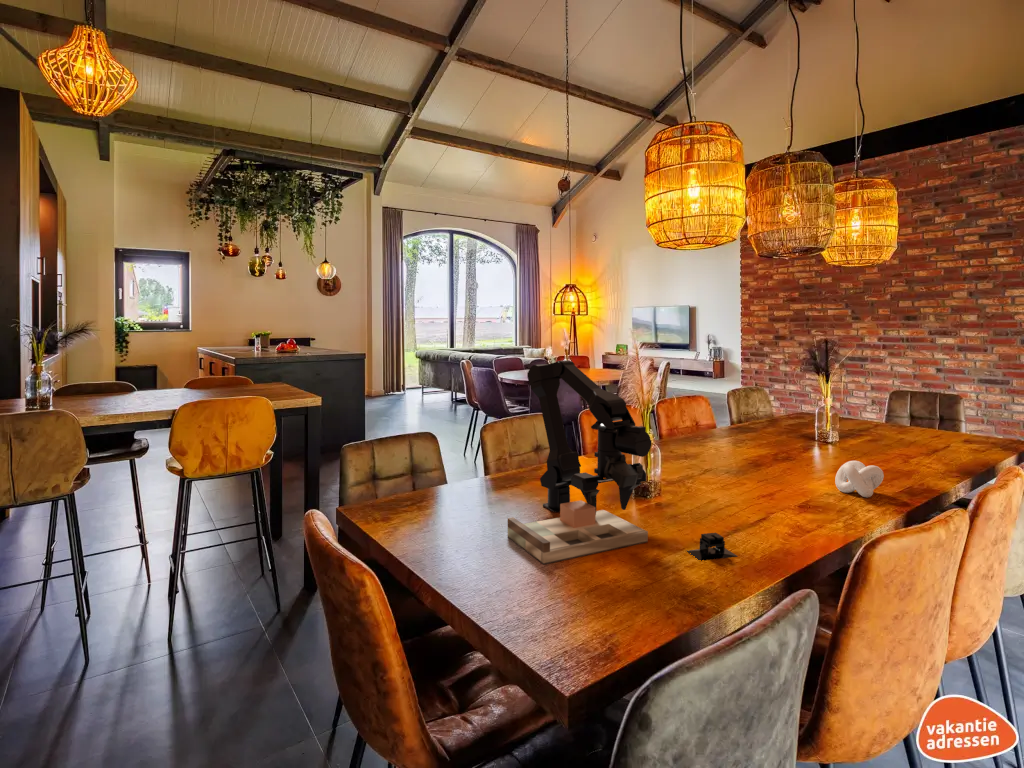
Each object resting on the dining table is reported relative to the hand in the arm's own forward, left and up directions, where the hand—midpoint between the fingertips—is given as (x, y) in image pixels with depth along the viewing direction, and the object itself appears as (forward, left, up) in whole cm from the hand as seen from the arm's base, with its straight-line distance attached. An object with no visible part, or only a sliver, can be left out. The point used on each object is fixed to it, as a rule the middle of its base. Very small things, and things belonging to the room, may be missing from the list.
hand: (608, 512), depth 137 cm
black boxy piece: (+24, +10, -4) cm, 26 cm away
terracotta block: (0, -9, -1) cm, 9 cm away
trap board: (+4, -12, -4) cm, 13 cm away
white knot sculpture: (+9, +81, -4) cm, 82 cm away
